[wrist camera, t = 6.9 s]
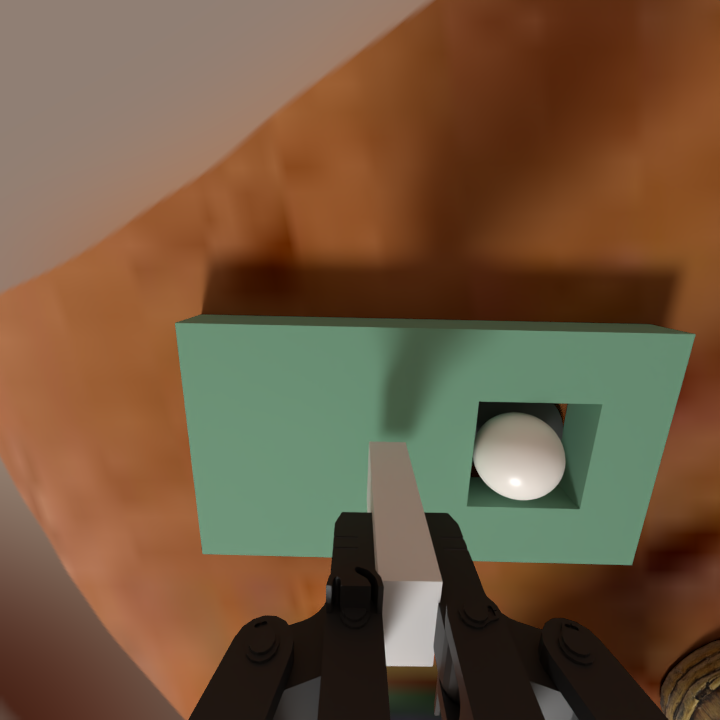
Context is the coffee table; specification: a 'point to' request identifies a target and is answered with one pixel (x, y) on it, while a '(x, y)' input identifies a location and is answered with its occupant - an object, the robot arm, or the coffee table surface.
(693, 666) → the wooden mug
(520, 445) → the ball
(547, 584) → the coffee table surface
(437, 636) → the robot arm
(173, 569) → the coffee table surface
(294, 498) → the putting mat
